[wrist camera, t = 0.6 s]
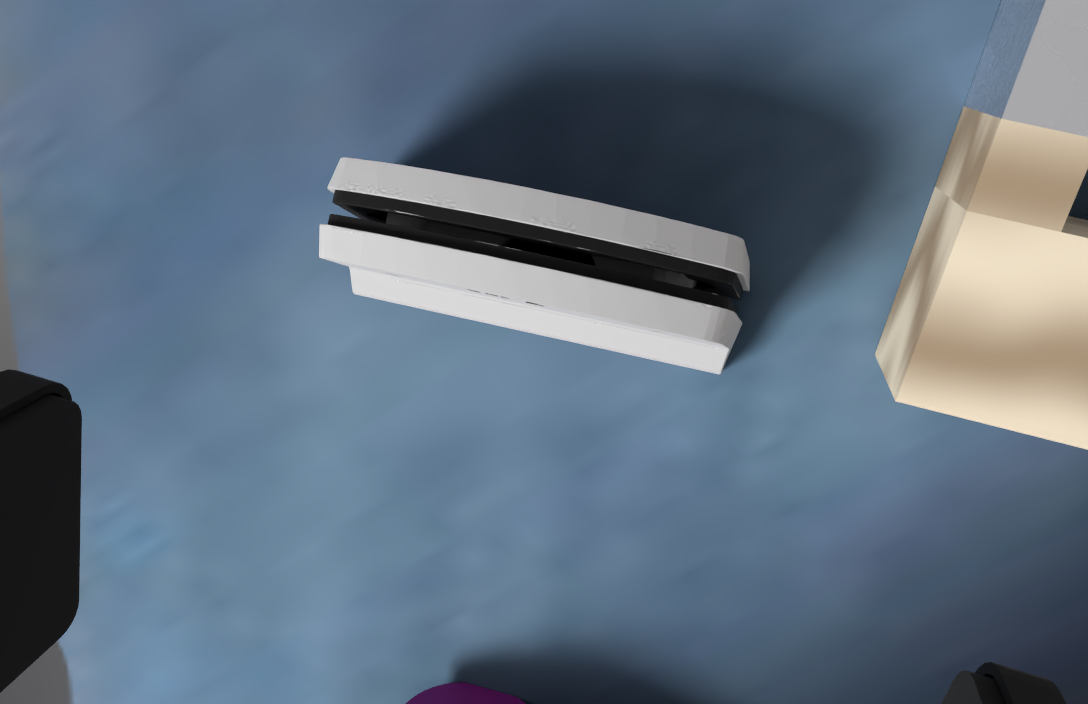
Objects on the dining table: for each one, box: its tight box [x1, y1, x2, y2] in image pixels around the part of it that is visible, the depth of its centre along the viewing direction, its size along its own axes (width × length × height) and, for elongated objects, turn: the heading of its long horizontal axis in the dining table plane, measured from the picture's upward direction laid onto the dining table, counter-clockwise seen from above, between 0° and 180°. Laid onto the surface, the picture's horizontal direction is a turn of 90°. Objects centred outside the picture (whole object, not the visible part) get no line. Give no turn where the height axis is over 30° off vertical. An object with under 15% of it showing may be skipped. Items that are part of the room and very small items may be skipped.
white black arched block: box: [319, 158, 750, 374], centre depth 34 cm, size 17×5×10 cm, turn 81°
